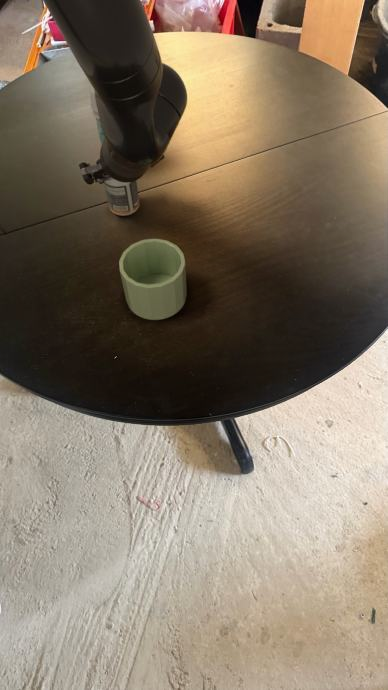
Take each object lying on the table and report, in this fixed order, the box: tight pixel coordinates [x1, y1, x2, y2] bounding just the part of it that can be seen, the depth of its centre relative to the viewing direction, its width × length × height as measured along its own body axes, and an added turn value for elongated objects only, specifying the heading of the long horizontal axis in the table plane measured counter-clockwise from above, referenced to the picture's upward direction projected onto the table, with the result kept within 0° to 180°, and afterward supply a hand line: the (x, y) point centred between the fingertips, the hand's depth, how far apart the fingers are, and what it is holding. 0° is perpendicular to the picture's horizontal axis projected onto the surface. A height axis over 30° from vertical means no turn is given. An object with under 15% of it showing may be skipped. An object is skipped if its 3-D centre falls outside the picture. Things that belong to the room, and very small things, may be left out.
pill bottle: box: [103, 179, 140, 217], centre depth 85 cm, size 6×6×10 cm
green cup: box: [118, 238, 188, 321], centre depth 74 cm, size 10×10×8 cm
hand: (116, 173), depth 85 cm, fingers closed on pill bottle, 5 cm apart
